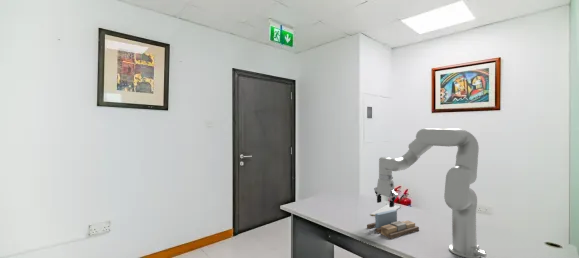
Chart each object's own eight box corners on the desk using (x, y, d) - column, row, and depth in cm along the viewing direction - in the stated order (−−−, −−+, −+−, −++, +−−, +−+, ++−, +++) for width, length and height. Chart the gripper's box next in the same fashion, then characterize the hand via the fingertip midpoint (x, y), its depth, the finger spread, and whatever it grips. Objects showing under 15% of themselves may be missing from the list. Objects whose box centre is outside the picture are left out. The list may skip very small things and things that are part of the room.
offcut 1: (396, 235, 138) (396, 227, 138) (388, 237, 135) (388, 229, 135) (389, 231, 143) (389, 224, 143) (381, 234, 139) (381, 226, 139)
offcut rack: (418, 230, 144) (418, 226, 144) (390, 238, 133) (390, 235, 133) (394, 220, 159) (394, 217, 159) (367, 227, 149) (367, 224, 149)
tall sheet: (397, 225, 153) (396, 210, 153) (378, 230, 145) (378, 214, 146) (393, 223, 155) (393, 209, 155) (375, 228, 148) (375, 213, 148)
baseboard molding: (367, 215, 173) (384, 219, 164) (367, 211, 173) (384, 215, 164) (385, 205, 195) (400, 208, 187) (385, 201, 195) (400, 204, 187)
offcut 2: (406, 232, 142) (406, 223, 142) (398, 234, 139) (397, 225, 139) (399, 229, 146) (398, 220, 146) (390, 231, 143) (390, 223, 143)
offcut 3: (415, 229, 145) (415, 223, 145) (407, 231, 142) (407, 225, 142) (408, 226, 150) (408, 220, 150) (400, 228, 147) (399, 222, 147)
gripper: (401, 179, 145) (401, 207, 145) (378, 174, 160) (378, 200, 160) (392, 180, 141) (392, 209, 141) (370, 175, 157) (370, 201, 157)
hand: (385, 204), depth 151 cm, fingers open, 9 cm apart
